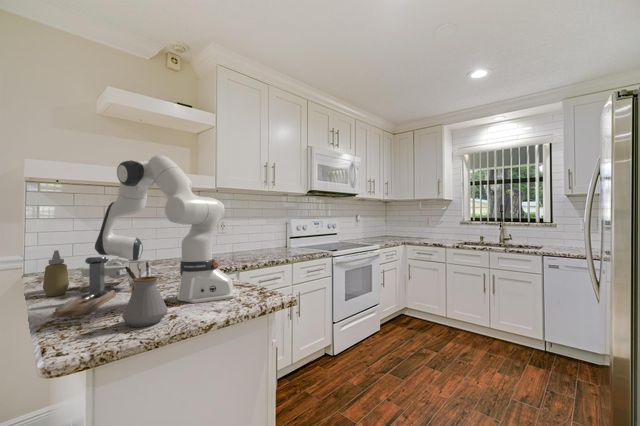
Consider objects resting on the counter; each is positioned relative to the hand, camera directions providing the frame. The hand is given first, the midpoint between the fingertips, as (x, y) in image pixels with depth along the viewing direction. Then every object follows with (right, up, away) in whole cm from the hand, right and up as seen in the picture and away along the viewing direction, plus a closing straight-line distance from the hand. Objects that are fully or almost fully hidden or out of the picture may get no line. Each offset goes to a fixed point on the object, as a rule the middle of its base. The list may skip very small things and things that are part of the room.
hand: (104, 273), depth 119 cm
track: (+4, -8, -14) cm, 17 cm away
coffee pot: (+31, -8, -29) cm, 43 cm away
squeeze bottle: (-21, -9, +2) cm, 23 cm away
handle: (+3, -7, -11) cm, 13 cm away
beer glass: (+21, -8, -12) cm, 26 cm away
